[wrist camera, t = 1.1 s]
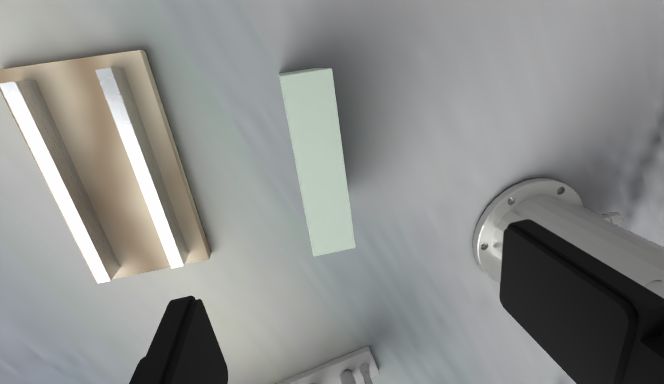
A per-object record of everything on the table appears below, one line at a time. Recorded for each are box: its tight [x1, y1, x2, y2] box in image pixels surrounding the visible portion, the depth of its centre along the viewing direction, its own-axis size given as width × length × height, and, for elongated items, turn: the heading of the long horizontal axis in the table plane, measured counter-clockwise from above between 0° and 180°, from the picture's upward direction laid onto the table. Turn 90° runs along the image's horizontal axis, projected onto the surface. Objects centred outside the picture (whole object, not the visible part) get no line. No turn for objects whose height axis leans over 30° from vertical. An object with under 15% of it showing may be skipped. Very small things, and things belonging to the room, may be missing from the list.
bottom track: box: [0, 50, 211, 283], centre depth 26 cm, size 10×18×3 cm, turn 8°
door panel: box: [279, 68, 355, 256], centre depth 25 cm, size 3×12×9 cm, turn 8°
